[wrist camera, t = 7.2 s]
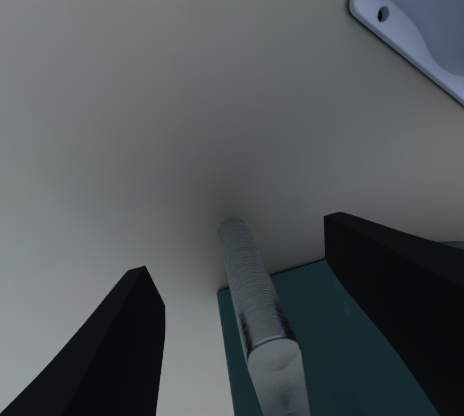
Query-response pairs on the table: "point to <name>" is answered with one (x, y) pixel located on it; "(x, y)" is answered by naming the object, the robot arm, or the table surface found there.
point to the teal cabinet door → (305, 342)
